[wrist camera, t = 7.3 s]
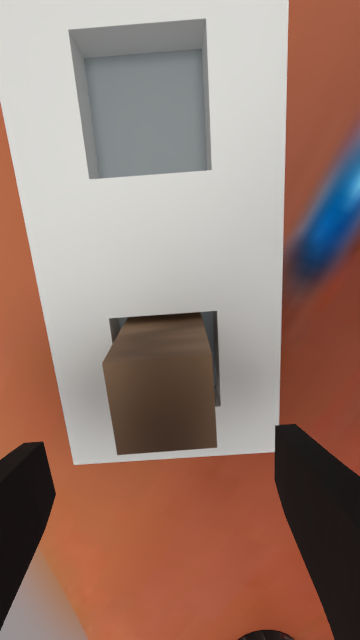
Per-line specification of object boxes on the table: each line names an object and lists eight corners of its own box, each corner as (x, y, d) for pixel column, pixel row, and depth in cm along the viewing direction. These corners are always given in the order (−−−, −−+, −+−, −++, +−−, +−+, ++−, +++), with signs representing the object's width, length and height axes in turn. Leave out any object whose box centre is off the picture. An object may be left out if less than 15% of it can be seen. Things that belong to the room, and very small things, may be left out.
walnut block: (199, 307, 18) (212, 354, 11) (203, 370, 19) (217, 447, 12) (129, 312, 18) (101, 363, 11) (138, 375, 19) (117, 455, 12)
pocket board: (271, -42, 14) (290, -99, 11) (266, 425, 21) (278, 451, 18) (2, -20, 14) (-35, -71, 12) (85, 437, 21) (73, 464, 18)
